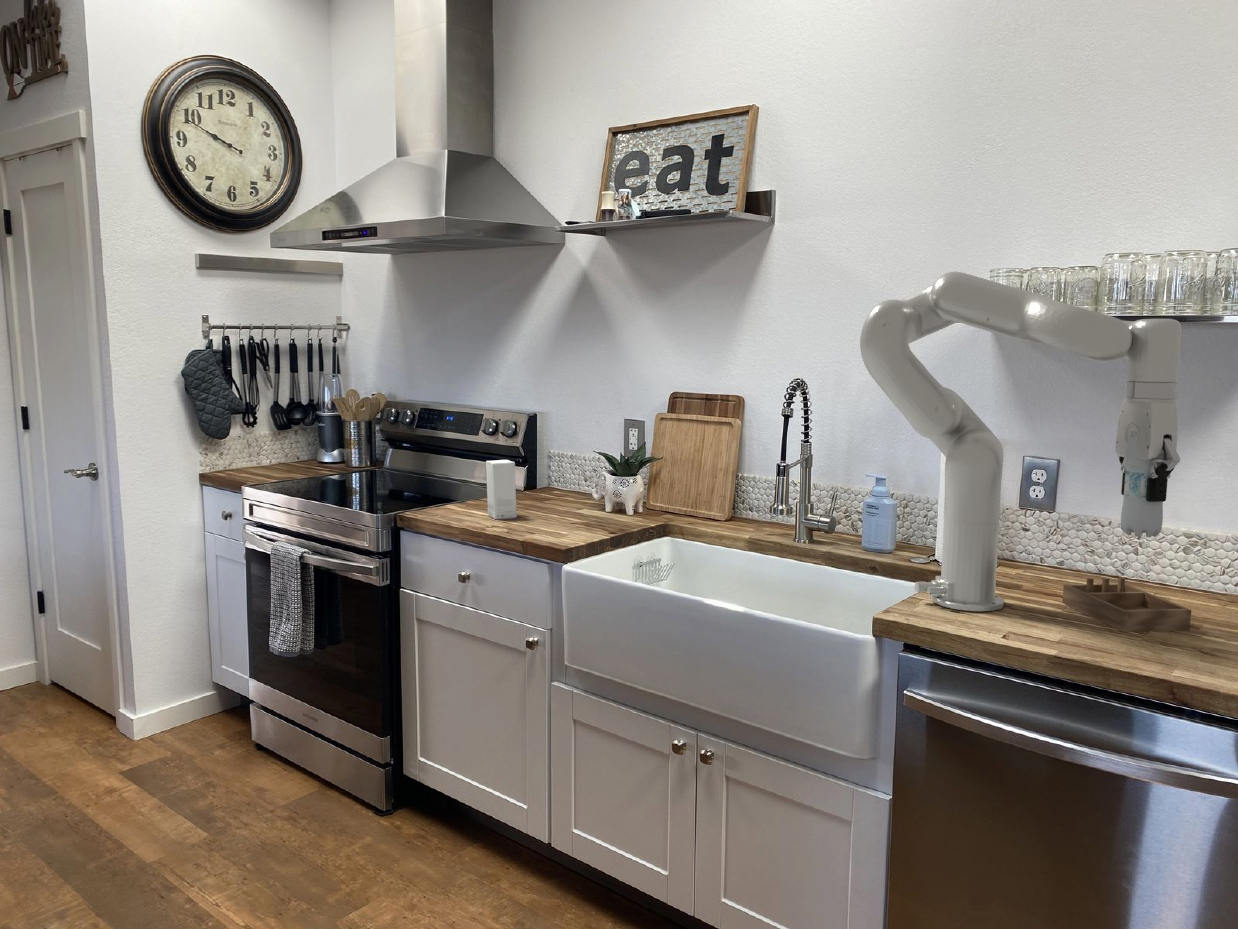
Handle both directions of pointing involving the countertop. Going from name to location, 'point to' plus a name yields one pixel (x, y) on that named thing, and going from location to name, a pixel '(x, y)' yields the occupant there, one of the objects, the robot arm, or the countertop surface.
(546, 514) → the countertop surface
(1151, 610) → the tray
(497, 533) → the countertop surface
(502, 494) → the skincare box
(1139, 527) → the bottle
